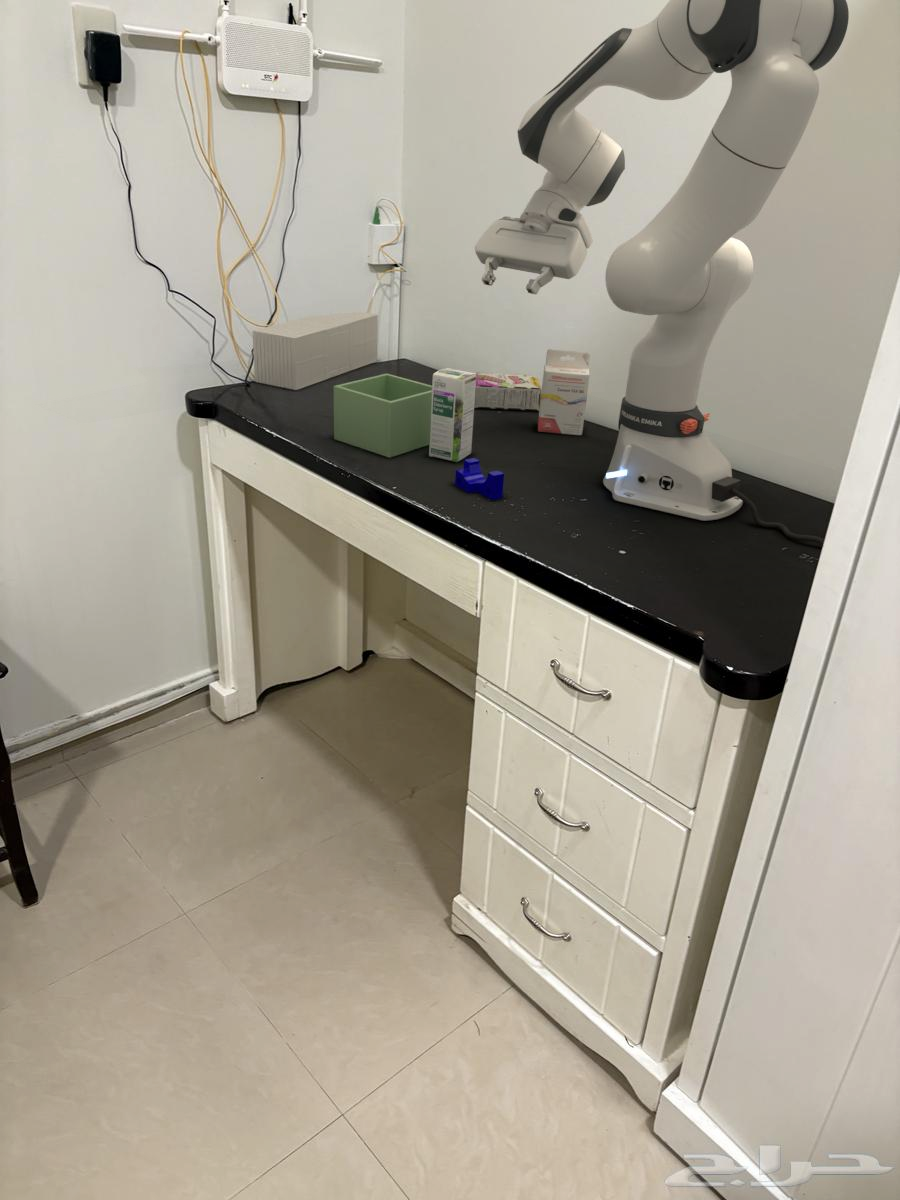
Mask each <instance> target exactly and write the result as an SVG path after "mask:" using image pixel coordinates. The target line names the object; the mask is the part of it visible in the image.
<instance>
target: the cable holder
mask: <svg viewBox="0 0 900 1200" xmlns="http://www.w3.org/2000/svg"><path fill="white" fill-rule="evenodd" d="M480 464H481V463H480V460H479V459H477V458H475V457H473V458H466V459H463V468H460V469H455V477H454V486H456V487H457V488H459V489H461V490H463V491H464V492H466V493H468V494H471V493H479V494H480V495H482V496H484V497H486V498H488V499H489V500H491V501H493V500H498V499H499V500H500V499H503V496H504V495H503V494H504V493H503V492H504V481H505V472H502V471H500V470H494V471H489V472H487V476H486V477H485V476H484V475H483V473H482V469H481V465H480Z"/></svg>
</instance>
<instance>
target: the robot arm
mask: <svg viewBox="0 0 900 1200" xmlns="http://www.w3.org/2000/svg"><path fill="white" fill-rule="evenodd" d="M849 13H850V12H849V6H848V2H847V0H669V1H667V3H666V4H665V5H664V7H663V8H662V9H661V11H660V12H659V13H658V15H657V16H656V17H655V18H654V19H653V20H650V22H648V23H646V24H644V25H642V26H639V27H635V28H626V27H622V28H620V29H617V30H616V31H615V32H613V33H611V35H609V36H608V37H607V38H605V39H604V41H602V42H601V43H600V44H599V45H598V46H597V47H596V48H594V49H593V50H592V51H591V52H590V53H589V54H588V55H587V56H586V57H584V59H583V60H582V61H581V62H580V63H578V65H577V66H575V67H574V68H573V69H572V70H571V71H570V72H569V73H568V74H567V75H566V76H565V77H564V78H563V79H561V81H559V82H558V83H557V85H555V86H554V87H553V88H552V89H550V90H549V91H548V92H547V93H545V94H544V95H543V96H542V97H541V98H539V99H538V100H537V101H535V102H534V103H533V104H532V105H531V106H530V107H529V108H528V110H527V111H526V112H525V113H524V115H523V117H522V119H521V121H520V123H519V126H518V129H517V131H516V132H517V139H518V143H519V148H520V151H521V154H522V155H523V156H525V157H526V158H528V159H529V160H531V161H533V162H535V163H536V164H537V165H540V166H541V167H542V168H544V169H545V170H547V171H546V172H545V174H544V176H543V178H542V183H541V185H540V187H538V188H537V189H536V190H535V191H534V193H533V194H532V196H531V198H530V199H529V201H528V202H527V204H526V205H525V208H524V209H523V211H522V213H520V216H519V217H511V216H503V217H502V218H499V219H495V220H494V221H493V222H492V223H491V224H490V225H489V226H488V227H487V229H486V230H485V231H484V232H483V233H482V235H481V236H480V237H479V239H478V240H477V242H476V244H475V245H474V252H475V255H476V256H477V258H478V260H479V261H480V263H481V264H483V265H485V266H484V270H485V272H484V273H483V274H482V276H481V282H482V283H483V285H485V286H490V287H491V286H493V285H494V283H495V282H496V280H497V278H496V276H495V274H494V271H497V270H498V268H504V269H509V270H515V271H521V272H527V273H532V274H538V275H537V276H536V277H535V278H534V279H532V278H530V279H529V281H528V283H527V284H526V286H525V290H526V291H527V293H528V294H531V295H537V294H538V293H539V291H540V290H541V289H542V287H544V286H546V285H547V284H548V283H550V282H552V281H553V279H554V278H559V279H565V280H571V279H572V278H574V277H576V276H577V275H578V273H579V272H580V270H581V268H582V266H583V265H584V262H585V261H586V258H587V255H588V249H589V248H591V246H592V245H593V244H592V243H593V237H592V233H591V231H590V229H589V226H588V223H587V221H586V219H585V217H584V216H583V214H582V213H581V210H583V209H584V208H585V207H592V206H595V205H599V204H601V203H603V202H604V201H606V200H607V199H608V198H609V196H610V195H611V193H612V192H613V190H614V188H615V186H616V184H617V183H618V181H619V180H620V177H621V176H622V174H623V172H624V171H625V169H626V157H625V152H624V148H622V147H621V146H620V144H619V143H618V142H616V141H615V140H614V139H612V138H611V137H610V136H609V135H608V134H607V133H605V132H604V131H603V130H602V129H599V128H598V127H597V126H596V125H595V124H593V122H591V121H589V119H587V118H586V117H585V116H583V114H581V113H580V112H578V111H577V109H576V108H577V107H578V106H579V105H580V104H581V103H582V102H583V101H584V100H585V99H586V98H587V97H589V96H590V95H591V94H592V93H594V92H595V90H596V89H598V88H600V87H606V86H607V87H609V86H610V87H616V88H622V89H625V90H628V91H632V92H634V93H637V94H640V95H642V96H644V97H646V98H650V99H652V100H657V101H675V100H681V99H683V98H686V97H689V96H690V95H692V94H693V93H694V92H696V91H697V90H698V89H699V88H700V87H701V86H702V85H704V83H705V82H706V81H707V80H708V79H709V78H710V77H711V76H712V75H713V73H716V74H722V73H726V72H730V76H731V86H730V92H729V95H728V96H727V99H726V102H725V104H724V106H723V107H722V110H721V111H720V113H719V115H718V116H717V119H716V121H715V122H714V124H713V126H712V128H711V130H710V132H709V134H708V136H707V138H706V140H705V141H704V144H703V146H702V148H701V149H700V151H699V153H698V155H697V157H696V159H695V161H694V163H693V164H692V167H691V168H690V170H689V172H688V174H687V176H686V177H685V178H684V180H683V182H682V184H681V185H680V186H679V188H678V189H677V190H676V192H675V193H674V195H672V197H671V198H670V199H669V200H668V202H667V203H666V204H665V205H664V206H663V207H662V209H661V210H660V211H659V212H658V213H657V214H656V215H655V216H654V217H653V218H652V220H650V222H648V223H647V224H646V226H645V227H643V228H642V229H641V230H640V231H639V232H638V233H636V234H635V235H634V236H633V237H631V238H629V239H628V240H626V241H625V242H623V243H622V244H620V245H618V246H617V247H616V248H615V249H614V250H613V252H612V254H611V255H610V256H609V259H608V262H607V265H606V267H605V275H604V277H605V278H604V279H605V287H606V292H607V294H608V296H609V298H610V300H611V302H612V304H614V306H615V307H617V308H618V309H619V310H621V311H624V312H627V313H633V314H637V315H643V316H656V318H655V320H654V322H653V324H652V326H651V327H650V328H649V330H648V332H647V333H646V334H645V335H643V337H642V338H640V339H639V340H638V342H636V344H635V345H634V347H633V349H632V351H631V353H630V359H629V365H628V372H627V373H628V374H627V381H626V388H625V394H624V397H623V398H621V403H620V404H621V405H620V409H619V415H618V424H617V425H618V426H617V427H618V435H617V438H616V443H615V447H614V450H613V454H612V456H611V460H610V463H609V466H608V468H607V470H606V472H605V475H604V477H603V478H602V479H603V480H602V483H603V485H604V487H605V488H606V489H607V490H608V491H609V492H611V494H612V495H611V496H612V499H613V500H614V501H617V502H619V503H624V504H629V505H633V506H638V507H643V508H646V509H650V510H655V511H659V512H663V513H668V514H673V515H676V516H681V517H684V518H689V519H694V520H699V521H704V522H706V521H714V520H720V519H724V518H726V517H729V516H731V515H733V514H734V513H736V512H737V511H739V510H740V509H741V508H742V506H743V504H744V503H745V504H746V505H747V507H748V508H749V509H750V511H751V514H752V519H753V521H754V523H755V524H756V525H758V526H759V527H762V528H768V529H770V528H771V529H778V530H781V531H782V533H783V534H784V535H785V536H786V538H788V539H791V540H795V541H803V542H814V543H817V544H820V545H821V546H823V540H825V538H822V537H820V536H816V535H811V534H810V535H809V534H798V533H794V532H792V531H790V529H789V528H788V527H787V526H786V525H785V524H783V523H781V522H777V521H776V522H775V521H774V522H773V521H764V520H762V519H761V518H760V516H759V513H758V508H757V506H756V504H755V503H754V502H753V501H752V500H751V499H750V498H749V497H747V496H746V494H743V493H742V492H740V486H741V482H742V480H741V479H739V478H735V477H733V471H732V465H731V462H730V461H729V459H728V458H727V457H725V456H724V454H723V453H722V452H721V451H720V450H719V449H718V448H717V447H716V445H714V443H713V442H712V441H711V440H710V439H709V437H708V436H707V435H706V434H705V432H704V431H703V430H704V427H705V426H704V425H705V423H706V422H708V421H709V420H710V419H709V417H710V415H711V413H710V412H708V413H705V414H703V413H702V412H701V410H700V409H699V407H698V405H697V402H698V396H699V390H700V386H701V382H702V381H701V380H702V376H703V370H704V366H705V362H706V360H707V359H706V358H707V355H708V352H709V349H710V347H711V345H712V342H713V341H714V338H715V336H716V334H717V332H718V330H719V328H720V327H721V324H722V322H723V321H724V319H725V317H726V315H727V314H728V312H730V311H729V310H730V309H731V308H732V307H733V305H735V303H736V302H737V301H738V300H739V299H740V298H741V297H742V296H743V295H744V294H745V293H746V292H747V291H748V289H749V287H750V285H751V283H752V279H753V275H754V260H753V256H752V253H751V250H750V249H749V248H748V246H747V245H746V244H745V243H744V242H743V241H742V240H740V239H738V238H735V237H733V236H734V235H736V234H737V233H738V232H740V231H742V230H743V229H745V228H746V227H748V226H749V225H750V224H752V223H753V222H754V220H756V218H757V217H758V216H759V214H760V212H761V211H762V209H763V207H764V205H765V204H766V202H767V200H768V199H769V197H770V196H771V193H772V192H773V190H774V188H775V187H776V185H777V183H778V181H780V178H781V177H782V174H783V173H784V171H785V169H786V168H787V166H788V164H789V162H790V161H791V159H792V157H793V155H794V153H795V151H796V149H797V147H798V145H799V144H800V142H801V140H802V137H803V135H804V133H805V131H806V128H807V126H808V124H809V121H810V119H811V116H812V114H813V112H814V108H815V106H816V103H817V100H818V97H819V93H820V84H819V83H820V82H819V78H818V76H817V73H816V72H815V71H817V70H820V69H822V68H823V67H825V66H826V65H827V64H828V63H829V62H831V60H832V59H833V58H834V57H835V55H836V54H837V52H838V51H839V49H840V47H841V46H842V44H843V42H844V40H845V37H846V33H847V31H848V26H849V18H850V15H849Z"/></svg>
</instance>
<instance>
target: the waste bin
mask: <svg viewBox="0 0 900 1200" xmlns="http://www.w3.org/2000/svg"><path fill="white" fill-rule="evenodd" d="M431 404H432V384H431V385H430V384H427V383H423V382H420V381H416V380H412V379H409V378H404V377H401V376H397V375H394V374H390V373H382V374H378V375H374V376H370V377H366V378H362V379H357V380H354V381H350V382H345V383H341V384H336V385H333V439H334V440H336V441H339V442H342V443H345V444H348V445H351V446H353V447H357V448H359V449H362V450H366V451H369V452H372V453H374V454H377V455H380V456H382V457H386V458H389V459H390V458H393V457H396V456H399V455H403V454H405V453H408V452H411V451H414V450H417V449H420V448H424V447H427V446H430V430H431Z"/></svg>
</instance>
